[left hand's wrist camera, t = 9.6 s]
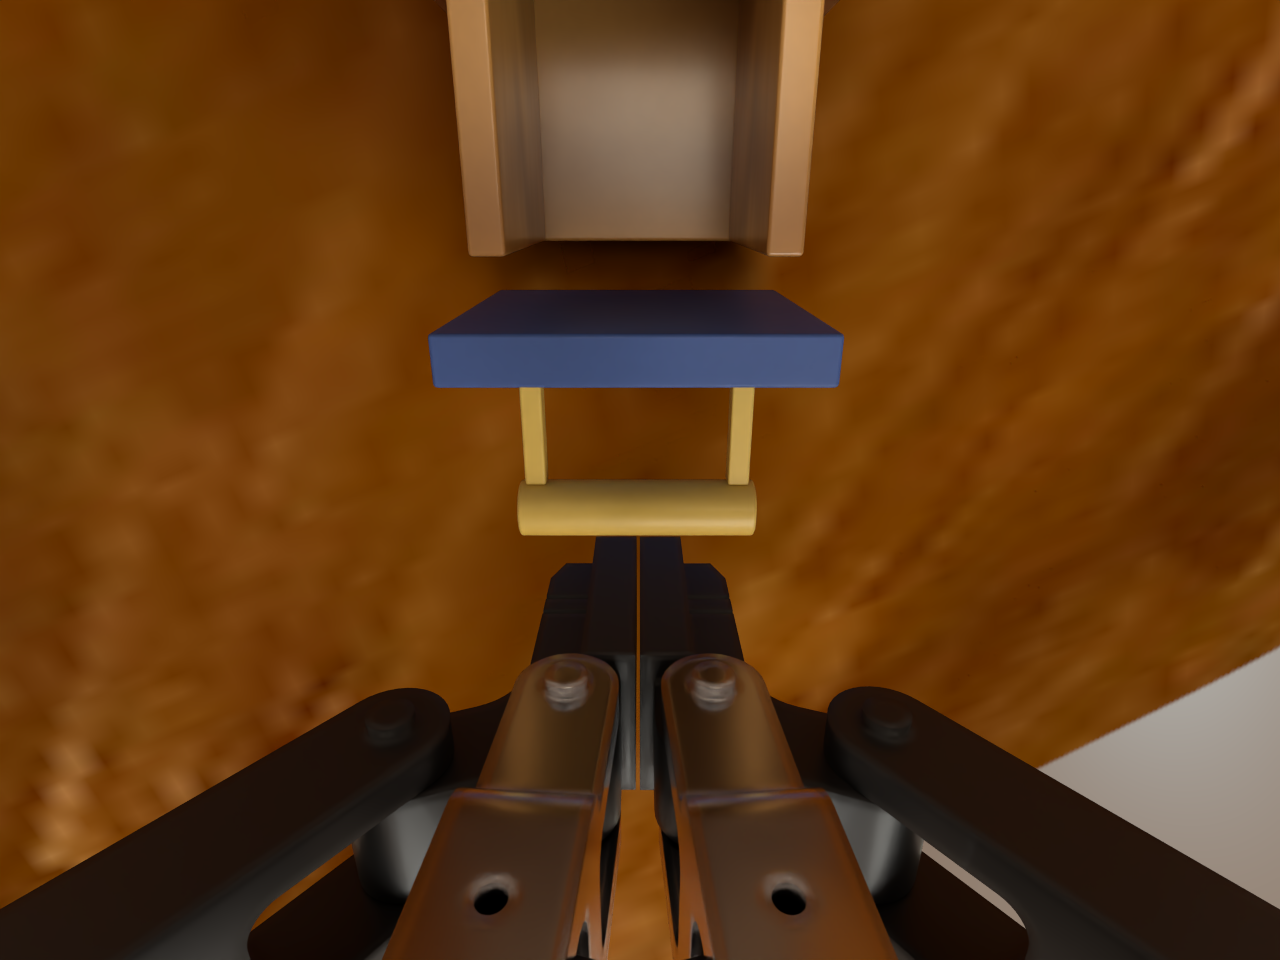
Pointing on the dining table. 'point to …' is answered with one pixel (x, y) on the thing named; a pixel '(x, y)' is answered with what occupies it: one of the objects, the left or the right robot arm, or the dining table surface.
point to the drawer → (635, 223)
